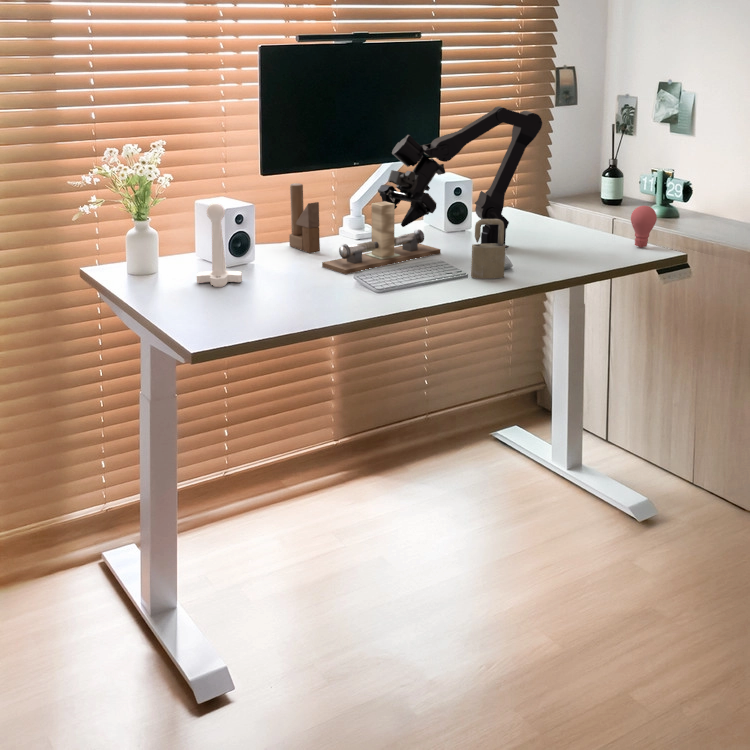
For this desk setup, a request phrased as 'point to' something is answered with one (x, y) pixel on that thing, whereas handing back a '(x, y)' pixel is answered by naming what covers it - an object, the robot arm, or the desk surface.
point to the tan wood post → (383, 228)
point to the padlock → (488, 253)
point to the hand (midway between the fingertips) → (390, 223)
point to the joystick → (218, 252)
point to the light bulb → (643, 224)
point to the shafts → (355, 251)
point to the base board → (379, 259)
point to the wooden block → (303, 222)
